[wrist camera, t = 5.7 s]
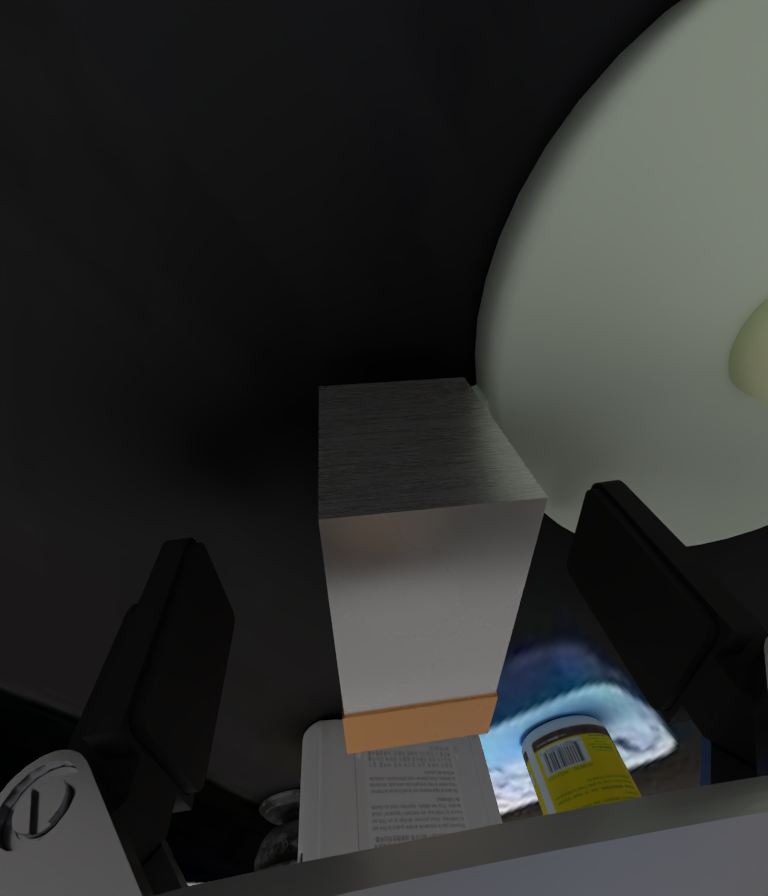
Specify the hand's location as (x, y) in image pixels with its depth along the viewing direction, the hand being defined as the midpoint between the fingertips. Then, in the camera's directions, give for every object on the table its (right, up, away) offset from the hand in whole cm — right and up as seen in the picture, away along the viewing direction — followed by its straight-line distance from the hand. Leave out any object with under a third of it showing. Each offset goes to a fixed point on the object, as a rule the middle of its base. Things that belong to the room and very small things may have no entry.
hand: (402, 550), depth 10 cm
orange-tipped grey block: (0, +2, +3) cm, 4 cm away
